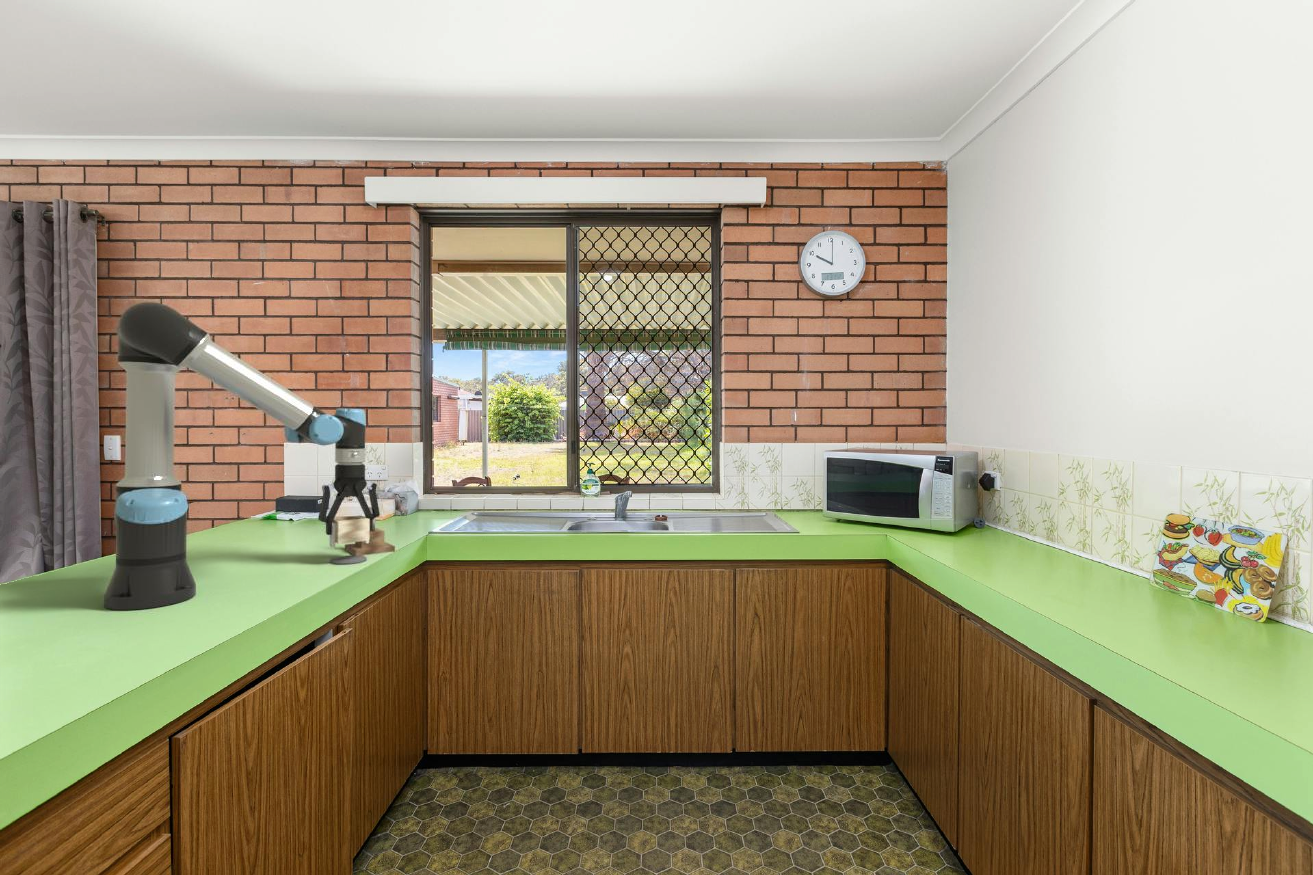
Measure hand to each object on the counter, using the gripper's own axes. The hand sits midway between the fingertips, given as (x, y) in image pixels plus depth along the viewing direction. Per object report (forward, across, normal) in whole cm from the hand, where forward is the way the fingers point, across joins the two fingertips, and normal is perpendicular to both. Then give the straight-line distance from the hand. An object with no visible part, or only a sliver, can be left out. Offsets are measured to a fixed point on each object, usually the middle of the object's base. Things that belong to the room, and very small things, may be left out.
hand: (349, 544), depth 168 cm
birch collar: (-1, 0, 0) cm, 1 cm away
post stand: (+5, +9, +11) cm, 15 cm away
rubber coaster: (+5, 0, 0) cm, 5 cm away
